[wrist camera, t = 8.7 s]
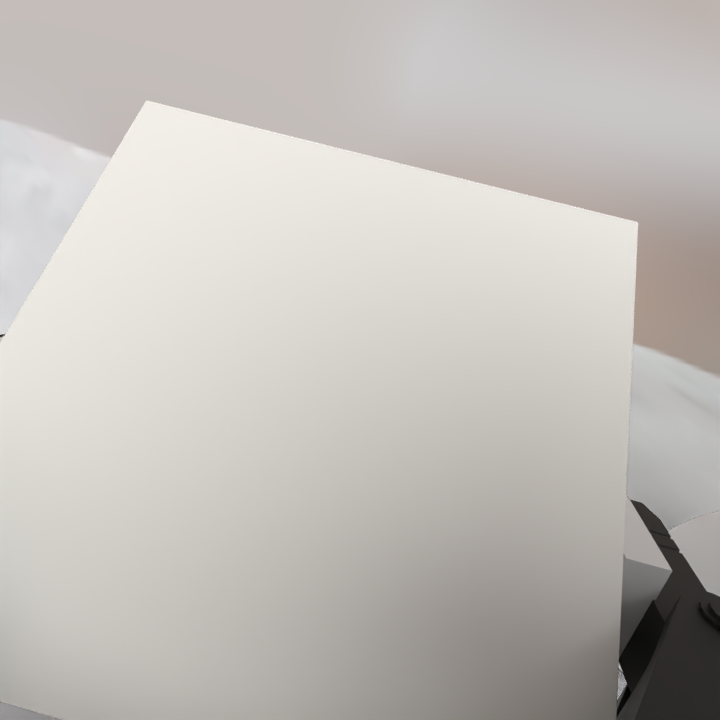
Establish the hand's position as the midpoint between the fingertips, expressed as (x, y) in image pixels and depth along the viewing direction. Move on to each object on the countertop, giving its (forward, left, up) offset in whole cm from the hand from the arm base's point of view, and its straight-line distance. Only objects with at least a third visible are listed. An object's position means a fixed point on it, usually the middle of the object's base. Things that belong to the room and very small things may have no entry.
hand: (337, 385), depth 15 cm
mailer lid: (+1, +2, -3) cm, 3 cm away
